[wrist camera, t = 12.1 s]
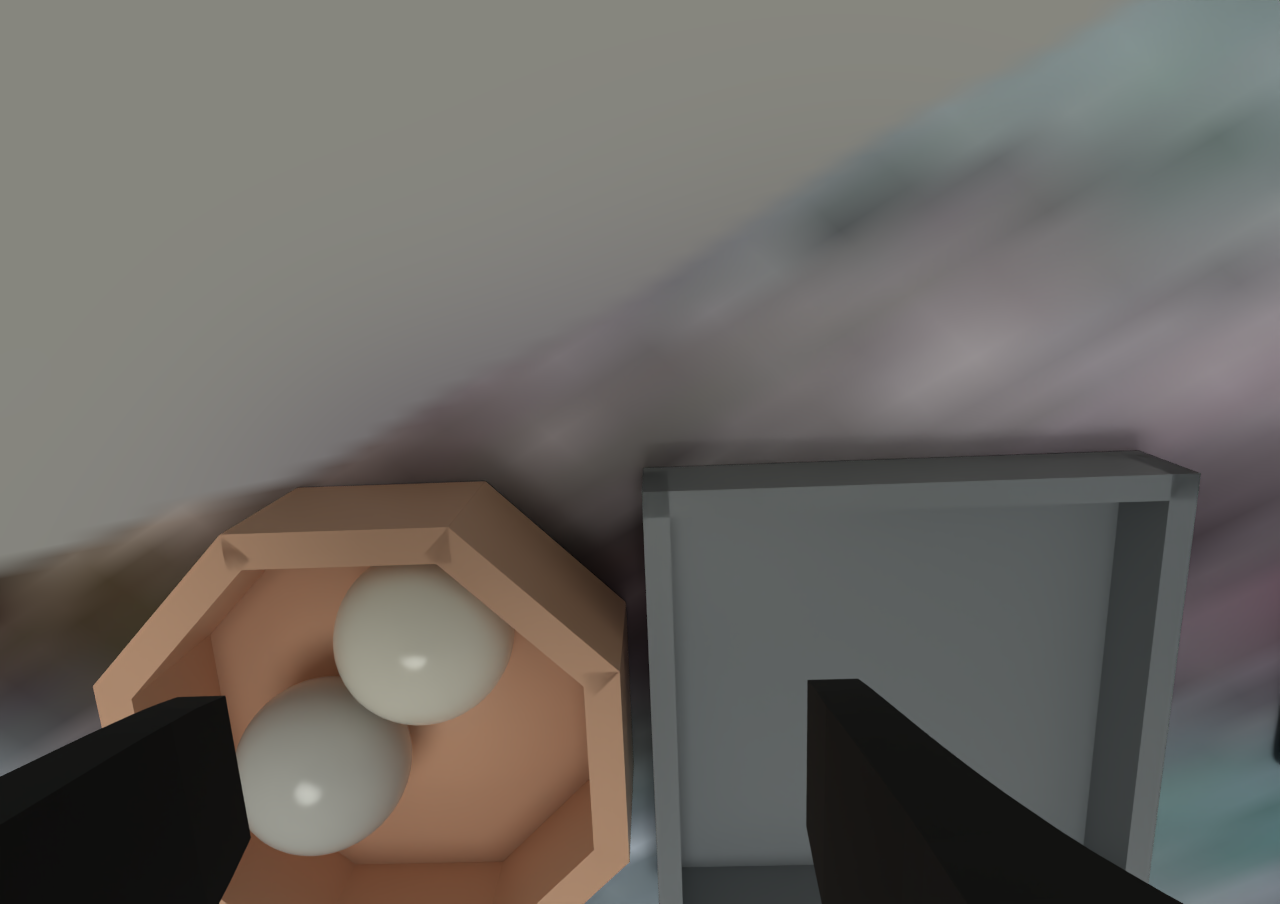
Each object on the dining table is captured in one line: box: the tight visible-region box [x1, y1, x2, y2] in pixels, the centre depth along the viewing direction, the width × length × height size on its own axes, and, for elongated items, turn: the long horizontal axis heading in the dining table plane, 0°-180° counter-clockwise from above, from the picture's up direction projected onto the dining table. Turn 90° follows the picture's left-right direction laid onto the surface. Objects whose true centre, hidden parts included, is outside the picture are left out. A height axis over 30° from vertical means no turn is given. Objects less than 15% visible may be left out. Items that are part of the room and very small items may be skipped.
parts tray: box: [642, 451, 1201, 904], centre depth 19 cm, size 12×12×2 cm
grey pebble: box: [236, 676, 412, 856], centre depth 19 cm, size 4×4×4 cm
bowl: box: [93, 481, 634, 904], centre depth 19 cm, size 12×12×4 cm
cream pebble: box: [333, 564, 514, 726], centre depth 18 cm, size 4×4×4 cm
